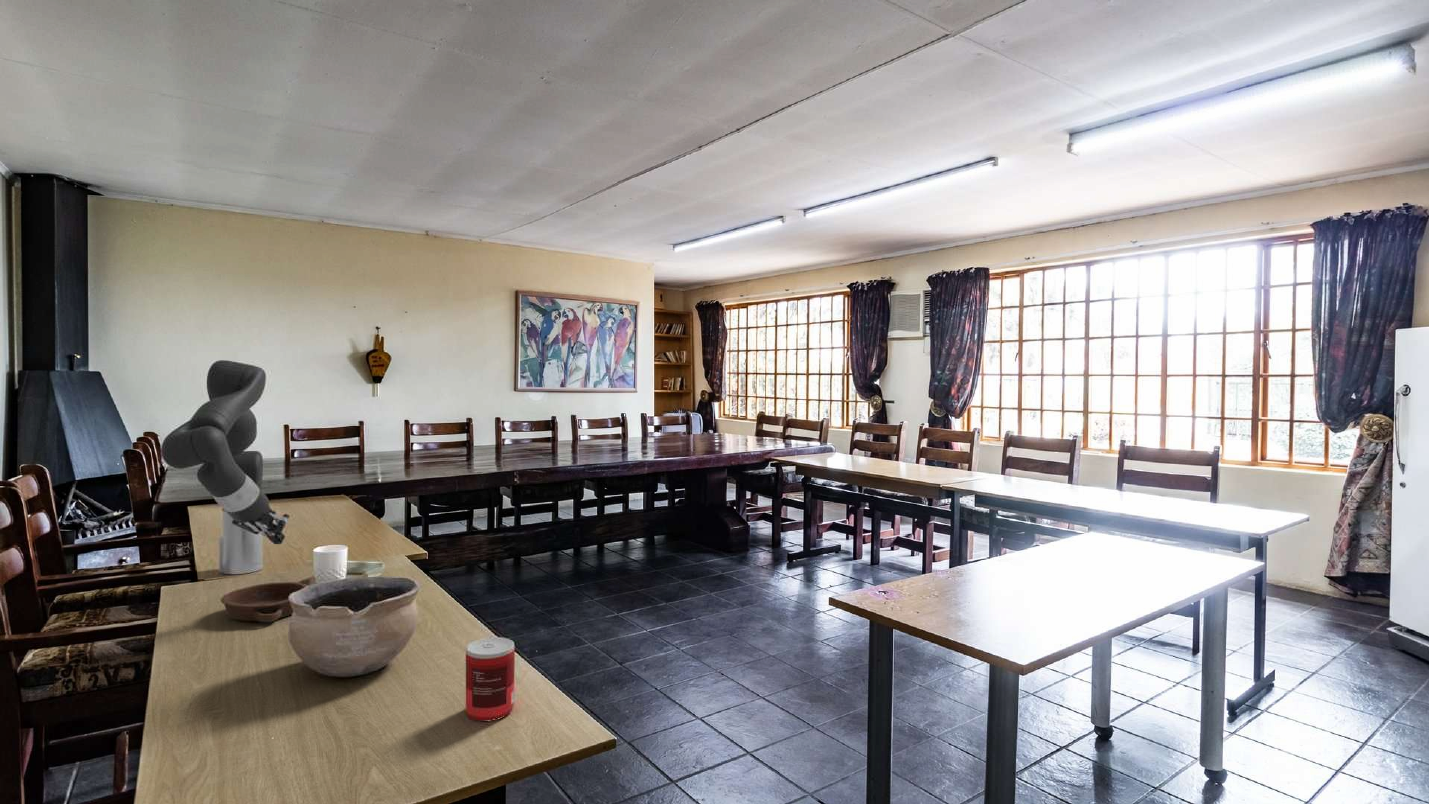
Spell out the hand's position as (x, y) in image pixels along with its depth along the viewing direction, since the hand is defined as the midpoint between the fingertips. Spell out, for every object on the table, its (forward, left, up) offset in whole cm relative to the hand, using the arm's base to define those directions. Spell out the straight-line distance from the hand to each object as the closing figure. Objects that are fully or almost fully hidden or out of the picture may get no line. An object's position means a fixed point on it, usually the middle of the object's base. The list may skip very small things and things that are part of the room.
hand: (279, 540), depth 164 cm
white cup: (0, +19, -16) cm, 25 cm away
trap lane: (0, +21, -16) cm, 26 cm away
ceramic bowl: (+36, -28, -16) cm, 49 cm away
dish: (-2, -2, -17) cm, 17 cm away
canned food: (+68, -42, -16) cm, 82 cm away
